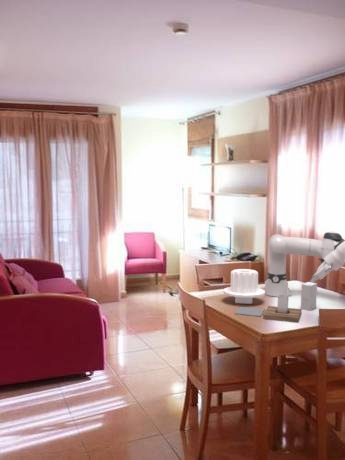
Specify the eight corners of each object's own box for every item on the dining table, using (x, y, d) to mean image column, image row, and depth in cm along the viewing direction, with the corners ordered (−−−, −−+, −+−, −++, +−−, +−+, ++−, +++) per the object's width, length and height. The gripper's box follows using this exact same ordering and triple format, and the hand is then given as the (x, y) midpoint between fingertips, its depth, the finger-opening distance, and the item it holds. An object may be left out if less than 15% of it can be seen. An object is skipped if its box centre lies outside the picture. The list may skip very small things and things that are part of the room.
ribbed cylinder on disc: (264, 308, 252) (265, 275, 251) (221, 305, 257) (222, 274, 256) (264, 297, 277) (265, 268, 275) (225, 295, 282) (225, 266, 280)
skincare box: (306, 306, 257) (307, 281, 255) (316, 308, 252) (317, 282, 251) (300, 309, 250) (301, 283, 249) (310, 311, 246) (311, 285, 245)
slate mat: (240, 307, 253) (240, 306, 253) (264, 310, 248) (264, 309, 248) (234, 314, 240) (234, 313, 240) (260, 316, 235) (260, 315, 235)
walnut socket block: (268, 310, 248) (268, 305, 248) (301, 313, 241) (301, 309, 241) (263, 318, 231) (263, 314, 231) (298, 322, 225) (298, 317, 224)
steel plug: (278, 314, 239) (279, 294, 238) (287, 315, 238) (288, 295, 237) (277, 316, 235) (277, 296, 234) (286, 317, 233) (287, 297, 232)
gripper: (336, 270, 214) (315, 288, 219) (337, 263, 233) (317, 280, 238) (327, 261, 215) (306, 279, 220) (328, 255, 234) (308, 272, 239)
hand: (311, 280), depth 229 cm, fingers open, 8 cm apart
